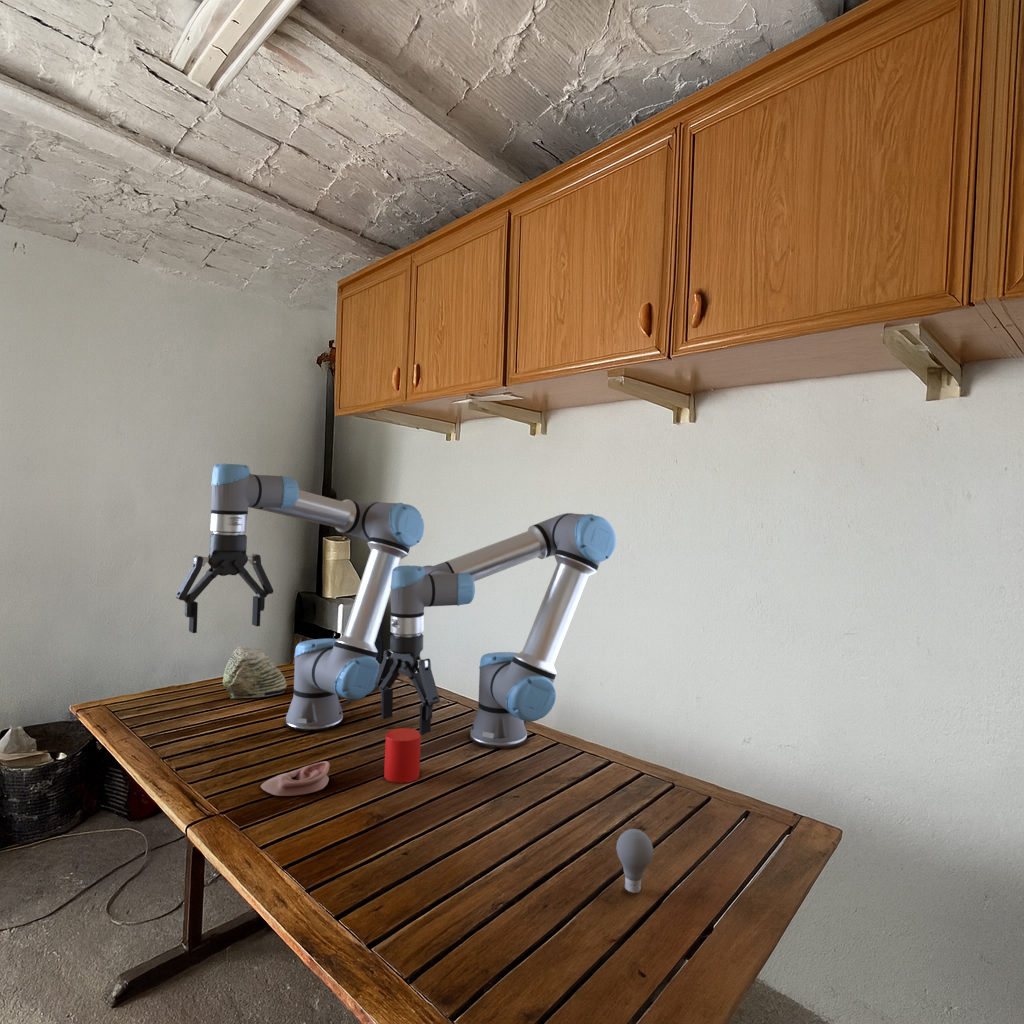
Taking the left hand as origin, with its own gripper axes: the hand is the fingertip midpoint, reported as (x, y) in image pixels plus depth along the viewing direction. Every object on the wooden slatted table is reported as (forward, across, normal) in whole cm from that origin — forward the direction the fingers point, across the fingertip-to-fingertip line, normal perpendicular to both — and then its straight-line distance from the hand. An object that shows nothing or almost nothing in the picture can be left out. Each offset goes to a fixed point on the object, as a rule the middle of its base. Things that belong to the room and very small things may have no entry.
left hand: (225, 628), depth 141 cm
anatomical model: (+33, +11, -15) cm, 38 cm away
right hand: (+22, +32, -25) cm, 46 cm away
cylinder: (+33, +32, -25) cm, 52 cm away
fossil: (+33, +28, +51) cm, 67 cm away
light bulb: (+33, +37, -85) cm, 99 cm away
